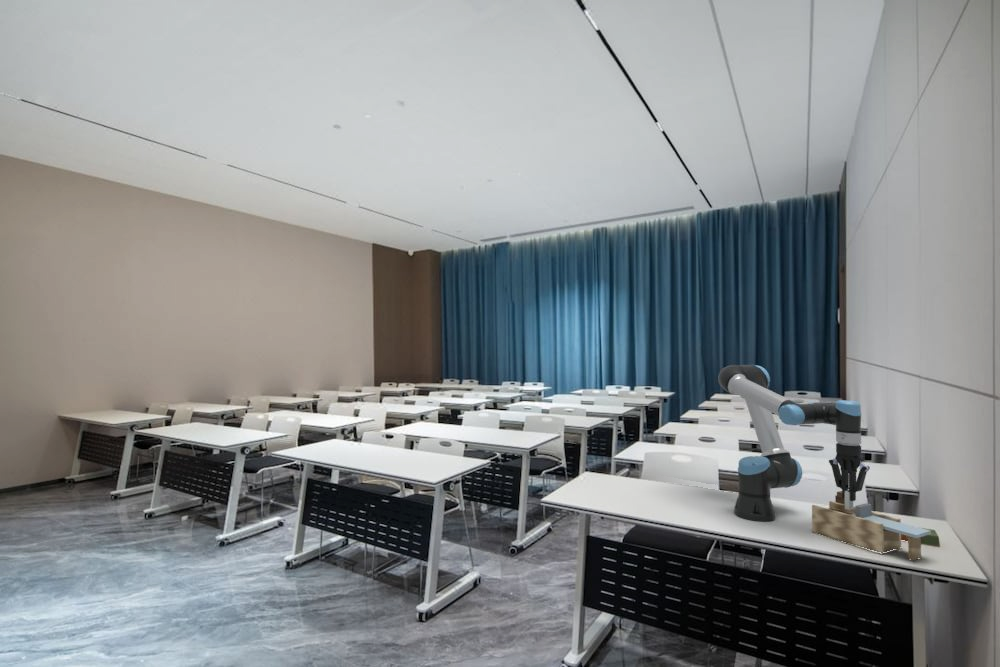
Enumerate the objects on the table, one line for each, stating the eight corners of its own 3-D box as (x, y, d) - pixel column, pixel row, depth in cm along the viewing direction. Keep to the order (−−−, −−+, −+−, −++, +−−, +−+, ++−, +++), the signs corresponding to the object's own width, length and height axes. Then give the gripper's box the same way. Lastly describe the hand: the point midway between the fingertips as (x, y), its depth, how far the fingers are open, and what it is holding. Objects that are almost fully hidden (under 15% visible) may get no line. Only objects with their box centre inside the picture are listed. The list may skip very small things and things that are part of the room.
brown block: (842, 525, 195) (841, 489, 196) (853, 528, 192) (853, 492, 192) (835, 527, 193) (834, 491, 193) (846, 530, 189) (845, 494, 190)
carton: (880, 531, 189) (879, 520, 189) (936, 541, 180) (935, 529, 180) (881, 538, 182) (881, 526, 182) (939, 548, 173) (939, 535, 173)
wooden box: (812, 532, 187) (811, 505, 188) (831, 527, 193) (831, 501, 193) (907, 563, 160) (906, 531, 161) (926, 556, 166) (925, 525, 166)
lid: (846, 518, 178) (846, 504, 178) (860, 514, 182) (860, 501, 182) (916, 538, 160) (916, 522, 160) (930, 533, 163) (930, 518, 164)
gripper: (823, 441, 186) (824, 505, 186) (862, 447, 175) (862, 516, 174) (835, 439, 190) (836, 502, 189) (874, 446, 178) (874, 512, 178)
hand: (849, 508), depth 182 cm, fingers closed
